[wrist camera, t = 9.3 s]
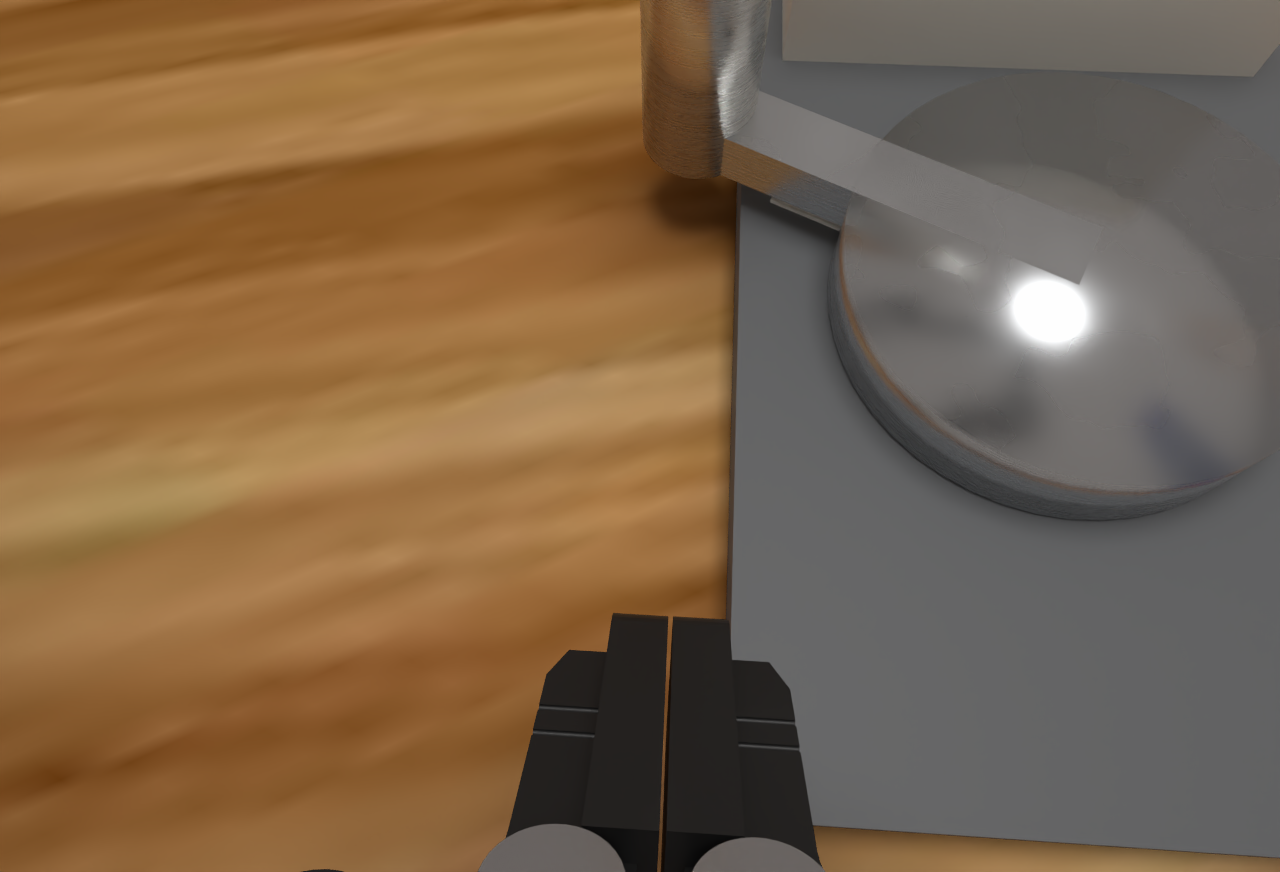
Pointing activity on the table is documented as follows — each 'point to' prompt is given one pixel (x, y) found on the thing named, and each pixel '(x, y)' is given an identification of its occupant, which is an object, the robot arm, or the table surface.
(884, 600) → the stand
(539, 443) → the table surface
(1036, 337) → the crank handle
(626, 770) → the robot arm
